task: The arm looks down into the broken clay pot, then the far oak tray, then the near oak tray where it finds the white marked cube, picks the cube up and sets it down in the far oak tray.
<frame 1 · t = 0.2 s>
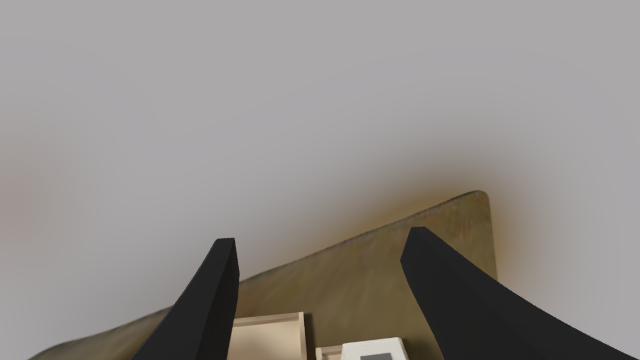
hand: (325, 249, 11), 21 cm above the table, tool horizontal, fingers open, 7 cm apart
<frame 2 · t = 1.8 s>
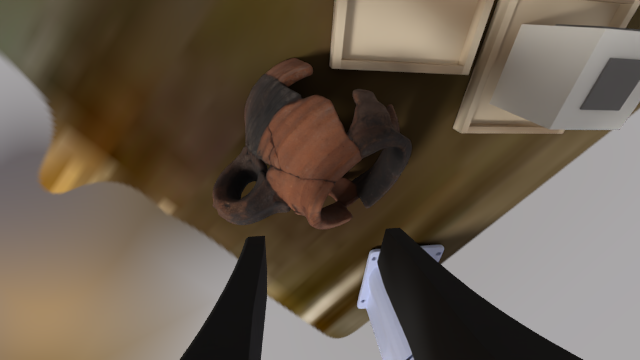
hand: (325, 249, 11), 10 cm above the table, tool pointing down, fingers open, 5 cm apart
white marked cube: (535, 68, 18), resting on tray
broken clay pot: (300, 135, 19), on the table
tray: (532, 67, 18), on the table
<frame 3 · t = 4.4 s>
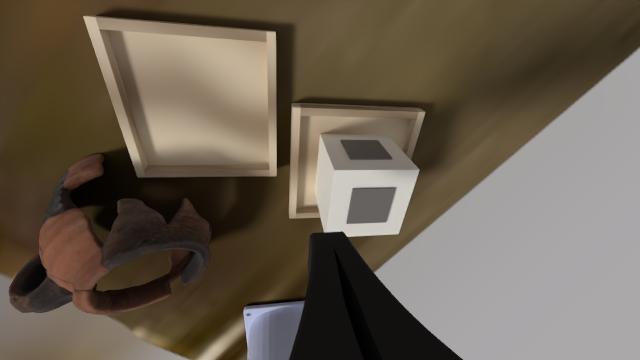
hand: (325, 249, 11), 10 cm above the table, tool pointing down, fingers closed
white marked cube: (349, 165, 20), resting on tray
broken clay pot: (134, 211, 20), on the table
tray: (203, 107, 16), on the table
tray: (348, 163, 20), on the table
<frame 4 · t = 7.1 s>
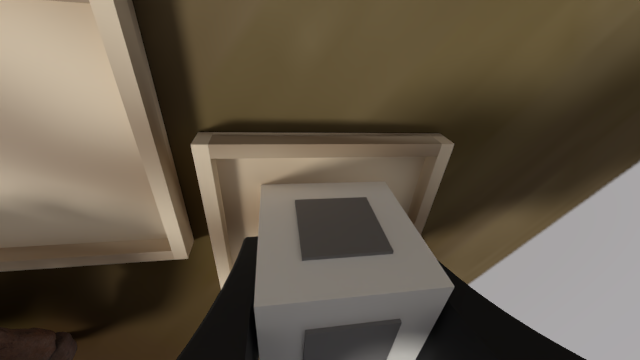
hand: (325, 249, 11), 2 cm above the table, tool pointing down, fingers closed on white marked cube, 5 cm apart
white marked cube: (321, 229, 12), resting on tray, touching gripper
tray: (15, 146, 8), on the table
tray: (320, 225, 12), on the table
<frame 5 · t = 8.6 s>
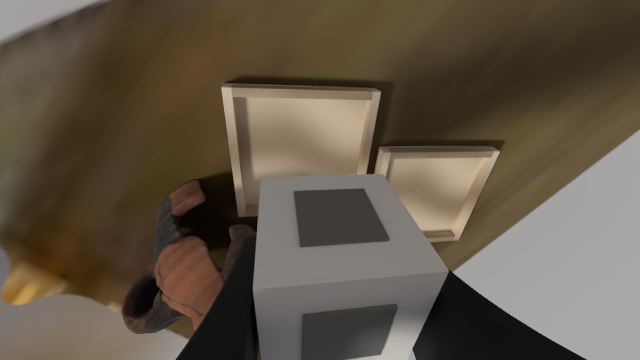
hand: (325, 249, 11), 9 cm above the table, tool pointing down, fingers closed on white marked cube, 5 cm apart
white marked cube: (320, 222, 12), point 7 cm above the table, touching gripper
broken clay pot: (217, 231, 21), on the table
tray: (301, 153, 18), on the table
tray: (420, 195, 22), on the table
when the fingers open (3 cm above the table, at t = 10.2 s): white marked cube drops 1 cm, resting on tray.
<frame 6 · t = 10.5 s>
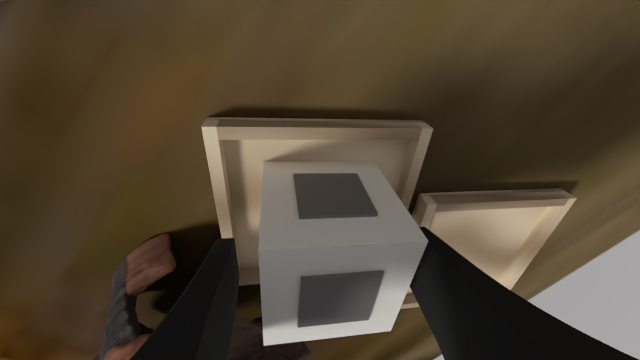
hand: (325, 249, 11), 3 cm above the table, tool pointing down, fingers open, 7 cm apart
white marked cube: (316, 206, 13), resting on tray
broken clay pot: (199, 291, 16), on the table
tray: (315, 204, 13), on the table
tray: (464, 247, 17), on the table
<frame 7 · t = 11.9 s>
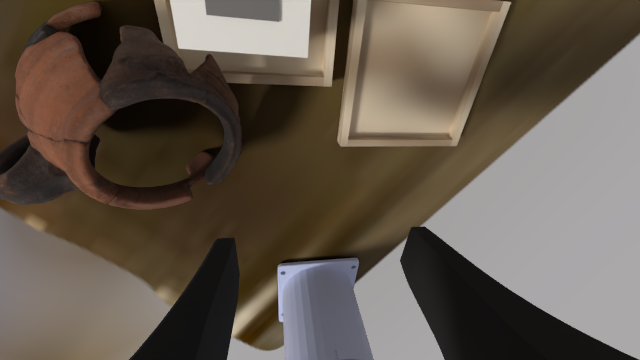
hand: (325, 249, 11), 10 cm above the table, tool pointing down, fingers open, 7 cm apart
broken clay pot: (142, 103, 16), on the table
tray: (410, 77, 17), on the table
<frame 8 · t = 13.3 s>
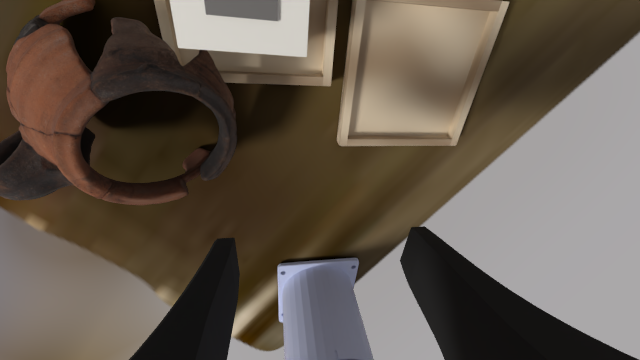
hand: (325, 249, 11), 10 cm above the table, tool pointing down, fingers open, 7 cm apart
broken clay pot: (138, 99, 16), on the table
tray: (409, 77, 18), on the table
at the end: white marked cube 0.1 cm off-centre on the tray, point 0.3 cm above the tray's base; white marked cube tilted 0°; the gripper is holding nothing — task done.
